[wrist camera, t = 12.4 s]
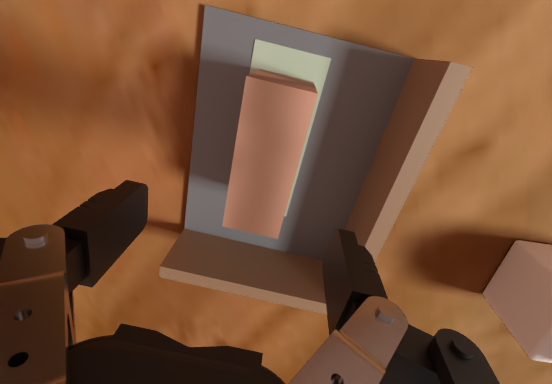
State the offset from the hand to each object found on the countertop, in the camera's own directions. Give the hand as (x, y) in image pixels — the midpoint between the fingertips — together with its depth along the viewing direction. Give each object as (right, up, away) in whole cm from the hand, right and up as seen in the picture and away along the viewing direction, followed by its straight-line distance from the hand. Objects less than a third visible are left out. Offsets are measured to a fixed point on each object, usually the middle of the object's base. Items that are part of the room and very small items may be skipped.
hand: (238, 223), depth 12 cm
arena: (+2, +4, +12) cm, 13 cm away
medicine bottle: (+27, -6, +16) cm, 32 cm away
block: (+1, +5, +11) cm, 12 cm away
